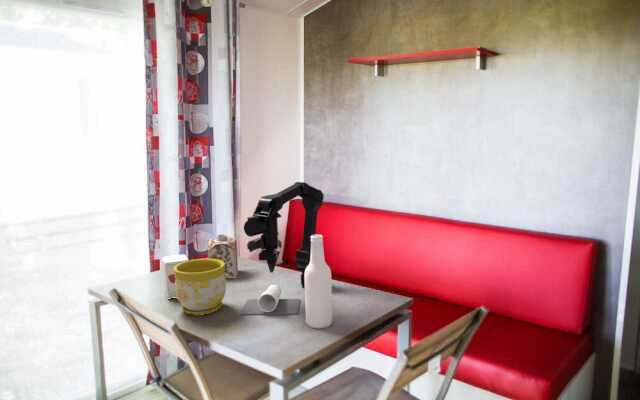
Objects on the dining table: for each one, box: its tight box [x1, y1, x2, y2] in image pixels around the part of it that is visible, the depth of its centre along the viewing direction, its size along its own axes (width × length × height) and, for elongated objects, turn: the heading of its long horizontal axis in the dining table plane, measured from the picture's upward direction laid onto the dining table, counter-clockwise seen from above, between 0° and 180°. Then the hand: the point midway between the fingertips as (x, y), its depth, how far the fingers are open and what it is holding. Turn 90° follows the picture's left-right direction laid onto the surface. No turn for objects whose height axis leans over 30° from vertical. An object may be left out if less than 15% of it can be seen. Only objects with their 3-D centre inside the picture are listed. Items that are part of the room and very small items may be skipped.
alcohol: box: [304, 234, 333, 330], centre depth 161 cm, size 9×9×30 cm
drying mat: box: [239, 298, 301, 316], centre depth 179 cm, size 20×14×1 cm
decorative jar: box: [207, 233, 239, 279], centre depth 216 cm, size 12×12×18 cm
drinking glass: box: [258, 284, 282, 312], centre depth 179 cm, size 7×7×15 cm
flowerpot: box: [173, 258, 227, 316], centre depth 177 cm, size 18×18×16 cm
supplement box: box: [161, 253, 189, 299], centre depth 193 cm, size 9×9×15 cm
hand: (271, 272), depth 182 cm, fingers closed
